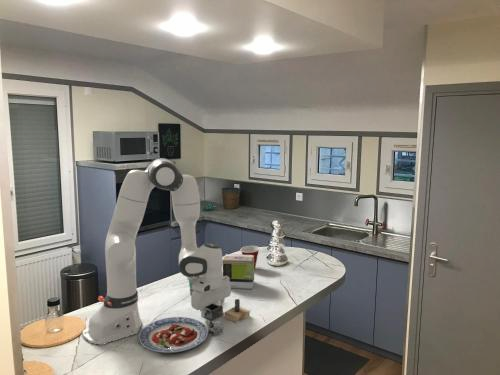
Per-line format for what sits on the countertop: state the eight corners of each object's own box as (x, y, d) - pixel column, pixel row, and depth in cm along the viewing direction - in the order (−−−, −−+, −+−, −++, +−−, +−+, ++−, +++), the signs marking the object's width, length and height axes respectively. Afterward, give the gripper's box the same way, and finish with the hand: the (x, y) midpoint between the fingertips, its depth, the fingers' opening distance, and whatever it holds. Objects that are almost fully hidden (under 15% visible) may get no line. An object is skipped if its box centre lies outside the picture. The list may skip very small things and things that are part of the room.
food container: (182, 295, 192) (181, 275, 191) (189, 290, 198) (189, 271, 196) (203, 300, 187) (203, 280, 185) (211, 296, 192) (211, 275, 190)
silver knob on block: (213, 337, 156) (213, 324, 155) (208, 334, 158) (208, 322, 157) (223, 332, 159) (223, 320, 159) (217, 329, 161) (217, 317, 160)
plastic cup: (237, 266, 232) (237, 246, 230) (255, 264, 235) (255, 244, 233) (243, 273, 222) (243, 251, 220) (261, 271, 225) (262, 250, 223)
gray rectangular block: (216, 329, 162) (216, 325, 162) (210, 329, 162) (210, 326, 161) (216, 324, 166) (216, 321, 166) (210, 325, 165) (210, 321, 165)
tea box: (254, 281, 210) (254, 254, 207) (252, 289, 200) (252, 261, 198) (225, 280, 211) (225, 253, 209) (222, 288, 201) (222, 259, 199)
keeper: (236, 322, 167) (236, 305, 166) (224, 317, 171) (224, 300, 170) (249, 316, 173) (249, 299, 171) (237, 310, 177) (237, 294, 176)
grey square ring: (211, 320, 168) (211, 311, 167) (201, 315, 172) (201, 307, 172) (222, 315, 173) (222, 306, 172) (212, 310, 177) (212, 302, 176)
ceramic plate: (177, 315, 173) (177, 309, 172) (221, 336, 157) (221, 329, 156) (125, 340, 153) (124, 332, 153) (169, 366, 137) (169, 358, 137)
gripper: (224, 272, 180) (224, 301, 182) (188, 286, 165) (189, 318, 167) (234, 276, 176) (234, 306, 178) (199, 290, 161) (199, 323, 163)
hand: (212, 312), depth 172 cm, fingers open, 8 cm apart
